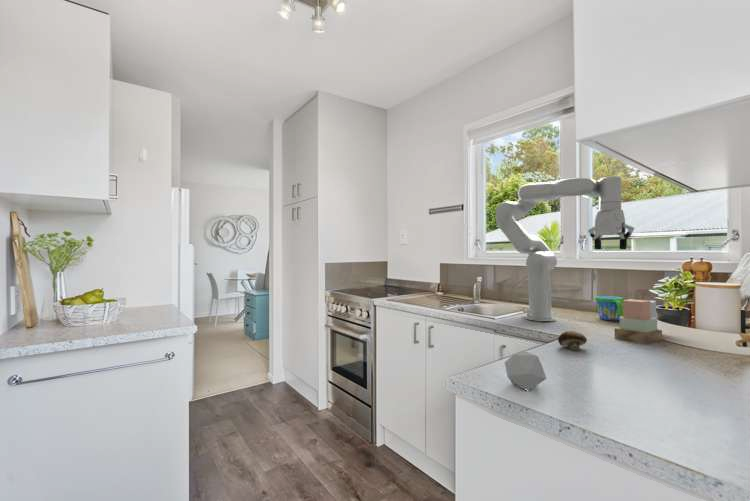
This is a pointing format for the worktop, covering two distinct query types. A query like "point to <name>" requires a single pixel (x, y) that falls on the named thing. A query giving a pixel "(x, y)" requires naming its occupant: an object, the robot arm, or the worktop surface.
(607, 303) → the snack cup
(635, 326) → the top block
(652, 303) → the skincare box
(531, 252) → the robot arm
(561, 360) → the worktop surface
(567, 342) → the mushroom
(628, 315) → the cube
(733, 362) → the worktop surface
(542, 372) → the die
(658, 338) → the bottom slab
